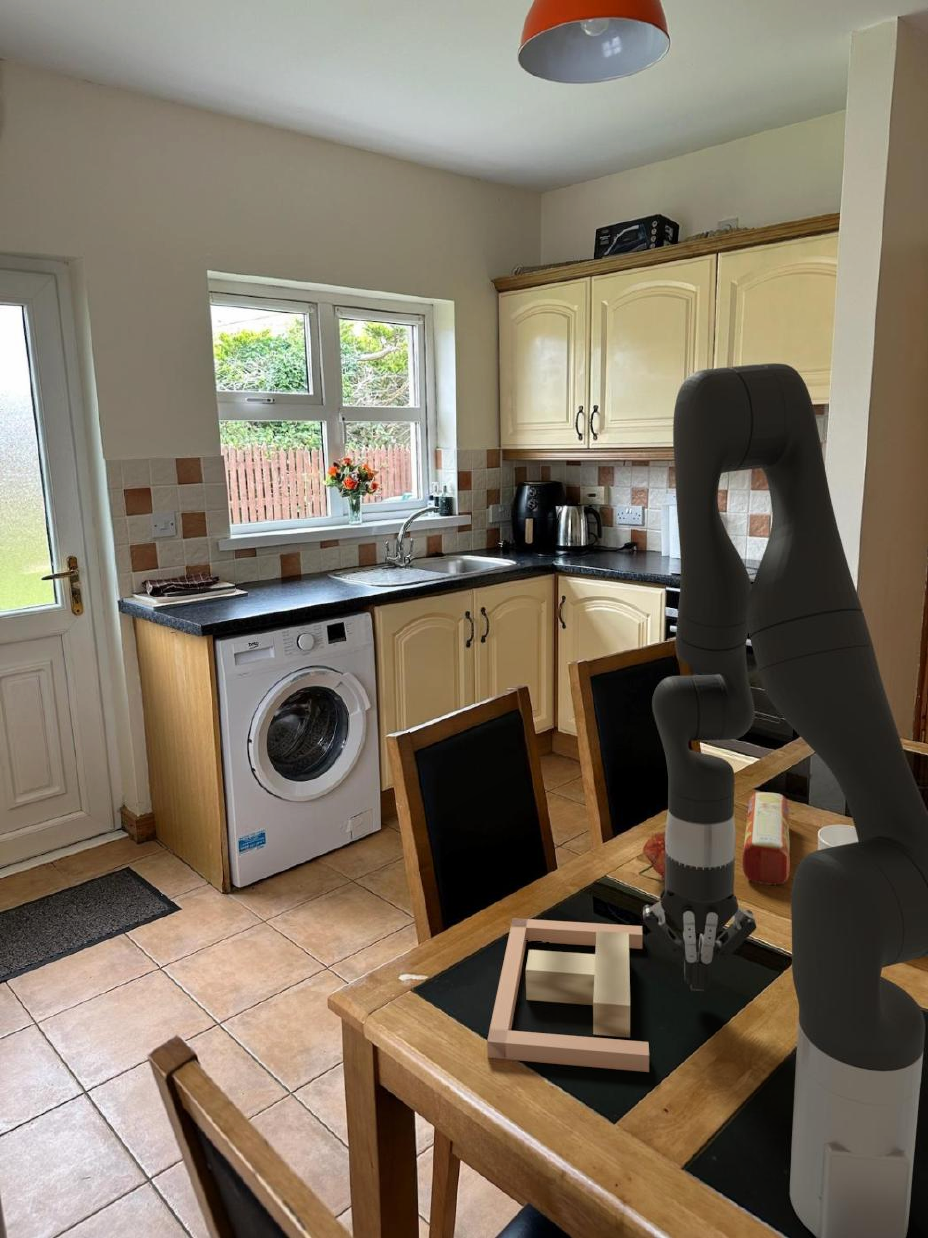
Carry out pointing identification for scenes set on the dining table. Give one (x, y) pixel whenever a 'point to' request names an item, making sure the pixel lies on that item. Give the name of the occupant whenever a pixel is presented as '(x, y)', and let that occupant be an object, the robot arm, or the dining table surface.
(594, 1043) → the frame
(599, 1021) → the T block
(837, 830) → the white cup
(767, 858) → the snack package
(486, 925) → the dining table surface
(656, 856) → the pomegranate
